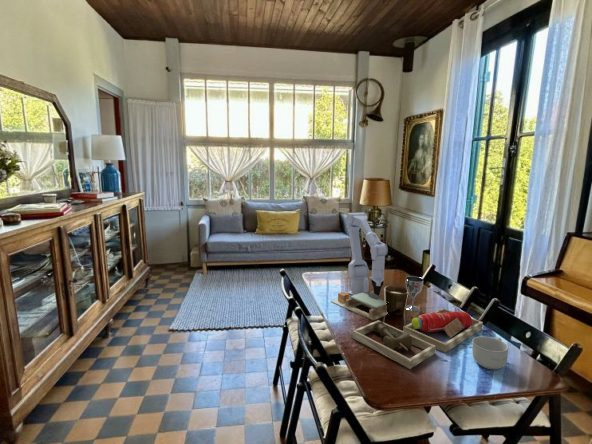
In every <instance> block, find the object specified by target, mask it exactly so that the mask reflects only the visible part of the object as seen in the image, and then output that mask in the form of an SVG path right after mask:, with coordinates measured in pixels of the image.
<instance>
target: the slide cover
mask: <svg viewBox="0 0 592 444" xmlns="http://www.w3.org/2000/svg"><path fill="white" fill-rule="evenodd" d="M369 292H370V291H369ZM350 298H353V299H355V300H357V301H360V302H362V303H365V304H367V305H369V306H372V307H374V308H379V307H381V306H384V305H386V304H387V303H386V302H387V301H385V300H383V299H381V298H380V294H379V295H377V294H374V293H372V292H370V293H369V294H365V293H359V294H356V295H351V296H350Z"/></svg>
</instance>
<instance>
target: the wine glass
mask: <svg viewBox="0 0 592 444" xmlns="http://www.w3.org/2000/svg"><path fill="white" fill-rule="evenodd" d="M423 286H424V278H422V277H420V276H415V275H410V276H406V277H405V287H406V291H407V292H408V293H409V295H410V297H411V305H410V304H409V305H405V306H406V307H405V306H404V309H405V310H407V311H409V312H420V311H421V308H420V307H418V306H417V305H415V303H414V302H415V298H416V296H417V295H418V294H420V293H421V291H422V290H423Z"/></svg>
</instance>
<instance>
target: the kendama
mask: <svg viewBox="0 0 592 444" xmlns="http://www.w3.org/2000/svg"><path fill="white" fill-rule="evenodd" d="M384 323H385V322H384ZM384 323H383V321H381V322H377V323H375V325H374V328H373V329H374V330H373V332H374V333H376V334H379V336H380V337H383V340H382V341H383V344H382V345H384V346H386V347H388V348H390V349H392V350H395V349H396V348H397V347H400V348H403V350H405V351H407V352H408V351H409V350H410V349H412V347H413V344H412V338H411V336H410V335H409V334H408V333H407V332H403V333H402V335H401V336H400V337H396V336H394V335H392V334H391V333H390V332H389V328H388V327H386V326H385V325H384Z"/></svg>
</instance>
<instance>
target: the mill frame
mask: <svg viewBox="0 0 592 444" xmlns="http://www.w3.org/2000/svg"><path fill="white" fill-rule="evenodd" d="M377 322H383V321H381V320H379V319H376V320H374V321H373V322H370V323H368V324H365V325H364V326H360V327H359V328H356V329H354V330H352V339H354V340H355V341H357V342H359V343H361V344H363V345H364V346H367V347H369V348H370V349H372V350H375V352H378V353H379V354H381V355H383V356H384V357H387V358H389V359H390V360H393V361H394V362H397V364H400V365H401V366H404V367H405V368H407V369H409V370H411V369H413V368H414V367H416V366H417V365H419V364H421V363H422V362H424V361H425V360H427V359H429V358H430V357H432V356H433V355H435V354H436V346H435V345H433V344H430V343H428V342H426V341H424V340H422V339H419V338H417V337H415V336H413V335H410V334H409V335H410V336H411V338H412V346H415V347H417V348H419V349H422V351H420V352H419V353H417V354H415V355H414V356H412V357H407V356H406V355H404V354H401V353H400V352H398V351H396V350H395V349H393V350H392V349H390V348H388V347H386V346H384V344H382V343H381V342H378V341H376V340H374V339H372V338H370V337H368V336H366V335H367V334H369V333H371V332H374V329H373V328H374V325H375V323H377ZM383 323H384V325H385V326H386V327H388V328H389V332H390V333H391V334H392V335H393V336H394V337H395V338H397V337H400V336H401V335H402V333H403V332H404V331H403V330H401V329H400V328H399V329H398V328H396V327H394V326H392V325H390V324H388V323H386V322H383Z"/></svg>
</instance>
